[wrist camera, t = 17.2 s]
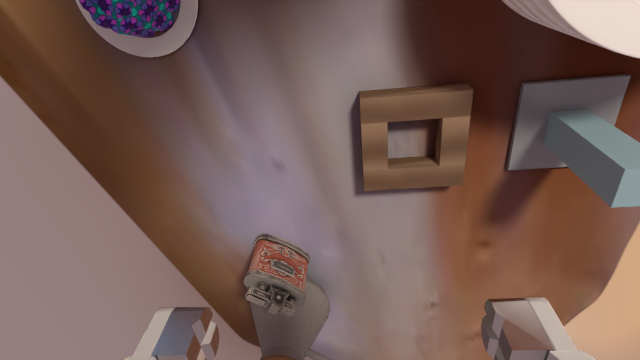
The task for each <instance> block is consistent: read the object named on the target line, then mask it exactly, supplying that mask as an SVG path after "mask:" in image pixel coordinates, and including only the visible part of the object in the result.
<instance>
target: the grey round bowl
mask: <svg viewBox="0 0 640 360" xmlns="http://www.w3.org/2000/svg"><path fill="white" fill-rule="evenodd" d="M76 3H77V5H78V7H79V9H80V11H81V12H82V14H83V16H84V17H85V18H86V20H87V21H88V23H89V24H90V25H91V26H92V28H93V29H94V30H95V31H96V32H97V33H98V34H99V35H100V36H101V37H102V38H104V39H105V40H106V41H107V42H109V43H110V44H112V45H113V46H115V47H116V48H118V49H120V50H122V51H124V52H126V53H129V54H132V55H136V56H141V57H160V56H163V55H167V54H169V53H171V52H173V51H175V50H177V49H178V48H179V47H181V46H182V45H183V44H184V43H185V41H186V40H187V39H188V38H189V36H190V34H191V32H192V31H193V29H194V26H195V22H196V19H197V12H198V0H181V3H180V0H76ZM179 4H180V11H179V15H178V18H177V20H176V22H175V24H174V25H173V26H172V24H173V22H174V20H173V12H175V11H176V10H177V9H179ZM171 26H172V28H171V29H170V30H169V31H167V32H166V33H164V34H163V35H161V36H158V37H154V38H142V37H150V36H153V35H154V33H155V32H156V31H166V30H168V29H169V28H170V27H171ZM137 36H140V37H137Z"/></svg>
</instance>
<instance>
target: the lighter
mask: <svg viewBox="0 0 640 360" xmlns="http://www.w3.org/2000/svg"><path fill="white" fill-rule="evenodd" d="M309 258H310V256H309V254H308V253H307V252H305V251H304V250H302V249H301V248H299V247H298V246H296V245H294V244H292V243H290V242H289V241H286V240H284V239H281V238H279V237H276V236H272V235H269V234H260V235H258V236H257V238H256V241H255V249H254V252H253V255H252V259H251V262H250V266H249V269H248V272H247V273H246V275H245V278H244V285H245V286H246V287H247V288H248V289H247V292H246V295H245V298H246V299H247V300H249V301H251V302H253V303H256V304H258V305H261V306H264V307H266V308H267V310H268V312H269V313H271V314H276V313H278V312H279V313H281V314H284V315H286V316H292V315H293V314H294V310H295V307H299V306H302V305H303V304H304V302H305V296H306V294H305V283H306V274H307V266H308V264H309Z"/></svg>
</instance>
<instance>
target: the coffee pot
mask: <svg viewBox="0 0 640 360" xmlns="http://www.w3.org/2000/svg"><path fill="white" fill-rule="evenodd" d="M305 294H306V296H305V302H304V304H303V305H302V306H299V307H295V310H294V314H293V315H292V316H286V315H284V314H281V313H279V312H278V313H276V314H271V313H269V312H268V310H267V308H266V307H264V306H261V305H258V304H256V303H253V302H250V306H251V310H252V315H253V319H254V323H255V327H256V331H257V335H258V340H259V344H260V348H261V352H262V357H261V359H260V360H304V358H305V356H307V357H309V358H312V359H314V360H331V359H329V358H327V357H325V356H323V355H321V354H319V353H317V352H315V351H313V350H311V349H310V347H311V346H312V344H313V342H314V340H315V339H316V337H317V335H318V333H319V332H320V330H321V328H322V326H323V325H324V323H325V321H326V320H327V318H328V315H329V311H330V304H329V300H328V298H327V296H326V294H325V292H324V290H323V289H322V288H321V287H320V286H319V285H318V284H317V283H316V282H314V281H313V280H311V279H309V278H308V277H306V283H305Z"/></svg>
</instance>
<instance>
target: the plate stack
mask: <svg viewBox="0 0 640 360" xmlns="http://www.w3.org/2000/svg"><path fill="white" fill-rule="evenodd" d="M502 1H503V2H504V3H505V4H506V5H507V6H508V7H510V8H511V9H512V10H514V11H515V12H517V13H518V14H520V15H521V16H523V17H525V18H527V19H529V20H531V21H533V22H535V23H538V24H541V25H543V26H546V27H549V28H551V29H554V30H557V31H559V32H562V33H565V34H568V35H570V36H573V37H576V38H579V39H581V40H584V41H587V42H589V43H592V44H595V45H598V46H600V47H603V48H606V49H608V50H611V51H614V52H616V53H620V54H623V55H626V56H630V57H634V58H640V0H502Z"/></svg>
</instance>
